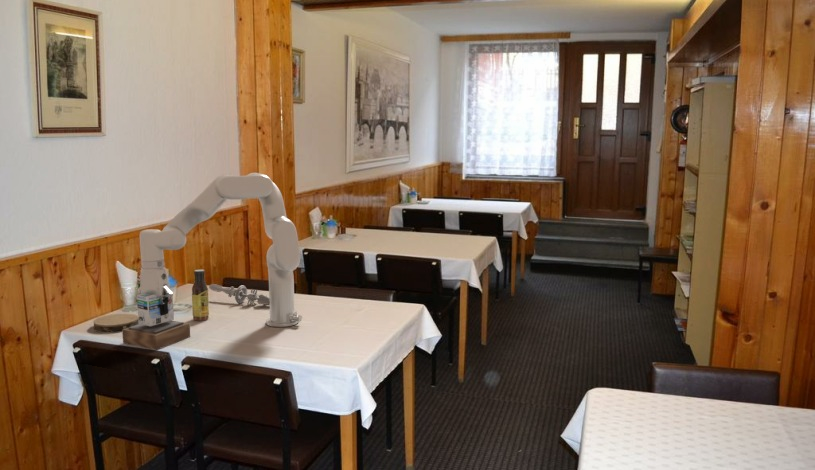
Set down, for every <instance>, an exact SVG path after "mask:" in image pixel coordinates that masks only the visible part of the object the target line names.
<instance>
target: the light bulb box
mask: <svg viewBox="0 0 815 470" xmlns="http://www.w3.org/2000/svg"><path fill="white" fill-rule="evenodd" d="M170 291H171V292H172V293H173V290H170ZM173 294H174V293H173ZM162 295H164V293H162ZM166 295H167V294H166ZM162 298H163V300H164V297H162ZM136 301H137V316H138V320H139V324H142V325H146V326H154V325H157V324H161V323H164V322H167V321H175V317H174V316H175V315H174V310H175V309H174V295H173V296H172V297H171V299H170V301H169V303H168V314H165V315H160V304H161V302H160V300H159V298H158V297H157V295H153V294H147V293H142V294H139V293H137V294H136Z"/></svg>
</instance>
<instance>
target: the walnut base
mask: <svg viewBox="0 0 815 470" xmlns="http://www.w3.org/2000/svg"><path fill="white" fill-rule="evenodd" d="M121 333H122V343H123V344H125V345H131V346H136V347H141V348H147V349H151V350H155V351H156V350H160V349H163V348H164V347H168V346H170V345H172V344H175V343H177V342H180V341H182V340H186V339H188V338H190V337H191V327H190V323H188V322H184V321H177V320H171V321H167V322H164V323H161V324H157V325H154V326H146V325H142V324H137V325H134V326H131V327H129V328H126V329H123V330H122V331H121Z"/></svg>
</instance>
